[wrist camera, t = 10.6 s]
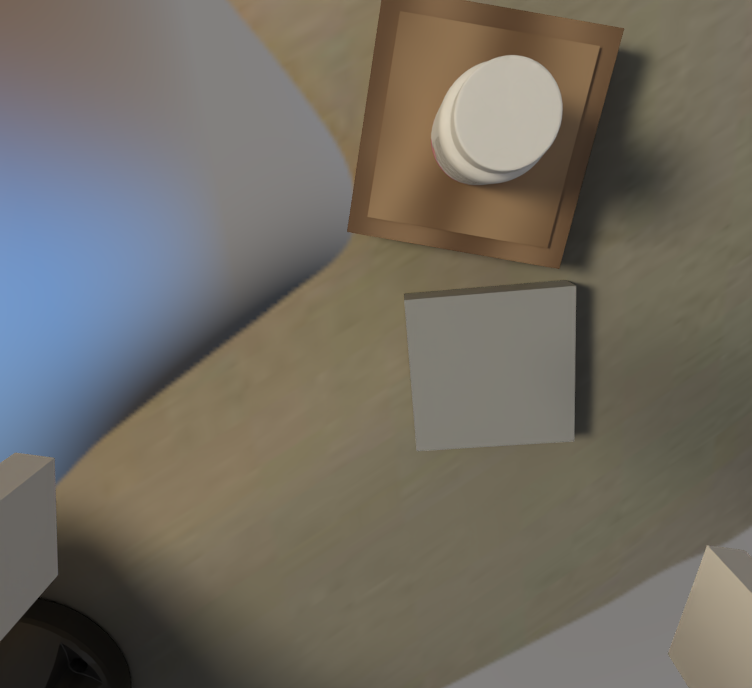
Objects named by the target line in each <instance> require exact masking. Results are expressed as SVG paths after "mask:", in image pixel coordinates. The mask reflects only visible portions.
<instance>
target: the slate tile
mask: <svg viewBox="0 0 752 688" xmlns="http://www.w3.org/2000/svg"><path fill="white" fill-rule="evenodd" d="M404 302H405V314H406V327H407V339H408V351H409V363H410V376H411V388H412V400H413V412H414V424H415V437H416V449H417V451H427V450H443V449H459V448H475V447H491V446H507V445H523V444H539V443H555V442H570V441H574V426H575V342H576V285H574V284H572V283H570V282H569V281H567V280H560V281H548V282H536V283H524V284H513V285H501V286H489V287H477V288H465V289H454V290H442V291H430V292H418V293H407V294H404Z"/></svg>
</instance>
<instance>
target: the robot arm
mask: <svg viewBox="0 0 752 688" xmlns="http://www.w3.org/2000/svg"><path fill="white" fill-rule="evenodd" d="M54 459H55V458H51V457H43V456H36V455H29V454H21V453H14V454H13V455H11V456H10V457H9V458H7V459H6V460H4V461H3V462H1V463H0V688H131V681H130V674H129V670H128V666H127V664H126V661H125V659H124V657H123V655H122V653H121V652H120V650H119V648H118V647H117V646H116V644H115V643H114V642H113V640H112V639H111V638H110V637H109V636H108V635H107V634H106V633H105V632H104V631H103V630H102V629H101V628H100V627H99V626H97V625H96V624H95V623H93V622H92V621H91V620H89V619H88V618H86V617H85V616H83V615H81V614H80V613H78V612H76V611H74V610H72V609H70V608H67V607H65V606H62V605H60V604H57V603H53V602H50V601H46V600H41V599H38V597H39V596H40V595H41V594H42V593H43V592H44V591H45V589H46V588H47V587H48V586H49V585H50V584H51V582H52V581H53V580H54V579H55V578H56V577H57V576H58V556H57V523H56V490H55V460H54ZM668 655H669V657H670V658H671V660H672V661H673V663H674V665H675V666H676V668H677V669H678V671H679V673H680V674H681V676H682V677H683V679H684V680H685V682H686V684H687V686H688V687H689V688H752V557H751V556H750V555H749V554H748V553H747V552H746V551H744V550H739V549H731V548H724V547H716V546H709V545H707V548H706V550H705V553H704V556H703V559H702V561H701V564H700V567H699V570H698V573H697V575H696V578H695V581H694V584H693V586H692V589H691V592H690V595H689V597H688V600H687V603H686V606H685V608H684V611H683V614H682V616H681V619H680V622H679V625H678V627H677V630H676V633H675V636H674V639H673V641H672V644H671V647H670V650H669V652H668Z"/></svg>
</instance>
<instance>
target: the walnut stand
mask: <svg viewBox="0 0 752 688" xmlns="http://www.w3.org/2000/svg"><path fill="white" fill-rule="evenodd" d="M623 31H624V28H619V27H613V26H607V25H602V24H596V23H590V22H585V21H579V20H573V19H567V18H562V17H556V16H550V15H545V14H539V13H533V12H528V11H522V10H516V9H511V8H505V7H499V6H494V5H488V4H482V3H476V2H471V1H465V0H381V7H380V14H379V21H378V27H377V34H376V41H375V48H374V54H373V61H372V68H371V75H370V81H369V88H368V95H367V101H366V108H365V115H364V122H363V128H362V135H361V142H360V149H359V155H358V162H357V169H356V175H355V182H354V189H353V196H352V202H351V209H350V216H349V223H348V229H347V232H351V233H357V234H363V235H368V236H374V237H380V238H386V239H391V240H397V241H403V242H408V243H414V244H420V245H426V246H431V247H437V248H443V249H448V250H454V251H460V252H465V253H471V254H477V255H483V256H488V257H494V258H500V259H505V260H511V261H517V262H523V263H528V264H534V265H540V266H545V267H551V268H557V269H559V267H560V264H561V260H562V256H563V253H564V249H565V245H566V242H567V238H568V234H569V230H570V227H571V223H572V219H573V216H574V212H575V208H576V205H577V201H578V197H579V194H580V190H581V186H582V182H583V179H584V175H585V171H586V168H587V164H588V160H589V157H590V153H591V149H592V146H593V142H594V138H595V134H596V131H597V127H598V123H599V120H600V116H601V112H602V109H603V105H604V101H605V98H606V94H607V90H608V86H609V83H610V79H611V75H612V72H613V68H614V64H615V61H616V57H617V53H618V50H619V46H620V42H621V38H622V35H623ZM506 55H518V56H523V57H527V58H530V59H533V60H535V61H537V62H538V63H540V64H541V65H543V66H544V67H545V68H546V69H547V70H548V71H549V72H550V73H551V75H552V76H553V78H554V79H555V81H556V83H557V85H558V87H559V90H560V93H561V97H562V103H563V113H562V121H561V125H560V128H559V131H558V134H557V136H556V138H555V140H554V142H553V144H552V145H551V146H550V148H549V149H548V150H547V151H546V152H545V153H544V155H543V156H542V157H541V159H540V160H539V161H538V162H537V163H536V164H535V165H534V166H533V167H532V168H531V169H530V170H529V171H527V172H526V173H524V174H523V175H521V176H519V177H517V178H515V179H513V180H510V181H507V182H502V183H496V184H487V185H468V184H464V183H461V182H458V181H455V180H454V179H452V178H450V177H449V176H448V175H447V174H446V173H445V172H444V171H443V170H442V169H441V168H440V166H439V165H438V163H437V161H436V159H435V157H434V154H433V151H432V146H431V132H432V126H433V122H434V119H435V116H436V114H437V112H438V110H439V108H440V106H441V104H442V101H443V99H444V97H445V95H446V93H447V92H448V90H449V88H450V87H451V86H452V85H453V83H454V82H455V81H456V80H457V79H458V78H459V77H460V76H461V75H462V74H463V73H465V72H466V71H467V70H469V69H470V68H472V67H474V66H476V65H478V64H480V63H483V62H486V61H489V60H491V59H494V58H497V57H501V56H506Z"/></svg>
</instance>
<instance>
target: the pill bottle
mask: <svg viewBox="0 0 752 688" xmlns="http://www.w3.org/2000/svg"><path fill="white" fill-rule="evenodd" d="M562 113H563V103H562V97H561V93H560V90H559V87H558V85H557V83H556V81H555V79H554V78H553V76H552V75H551V73H550V72H549V71H548V70H547V69H546V68H545V67H544V66H543V65H541V64H540V63H538V62H537V61H535V60H533V59H530V58H527V57H523V56H518V55H506V56H501V57H497V58H494V59H491V60H489V61H486V62H483V63H480V64H478V65H476V66H474V67H472V68H470V69H469V70H467V71H466V72H465V73H463V74H462V75H461V76H460V77H459V78H458V79H457V80H456V81H455V82H454V83H453V85H452V86H451V87H450V88H449V90H448V92H447V93H446V95H445V97H444V99H443V101H442V104H441V106H440V108H439V110H438V112H437V114H436V116H435V119H434V122H433V126H432V132H431V146H432V151H433V154H434V157H435V159H436V161H437V163H438V165H439V166H440V168H441V169H442V170H443V171H444V172H445V173H446V174H447V175H448V176H449V177H450V178H452V179H454V180H455V181H458V182H461V183H464V184H468V185H487V184H496V183H502V182H507V181H510V180H513V179H515V178H517V177H519V176H521V175H523V174H524V173H526V172H527V171H529V170H530V169H531V168H532V167H533V166H534V165H535V164H536V163H537V162H538V161H539V160H540V159H541V157H542V156H543V155H544V153H545V152H546V151H547V150H548V149H549V148H550V146H551V145H552V144H553V142H554V140H555V138H556V136H557V134H558V131H559V128H560V125H561V121H562Z"/></svg>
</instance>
